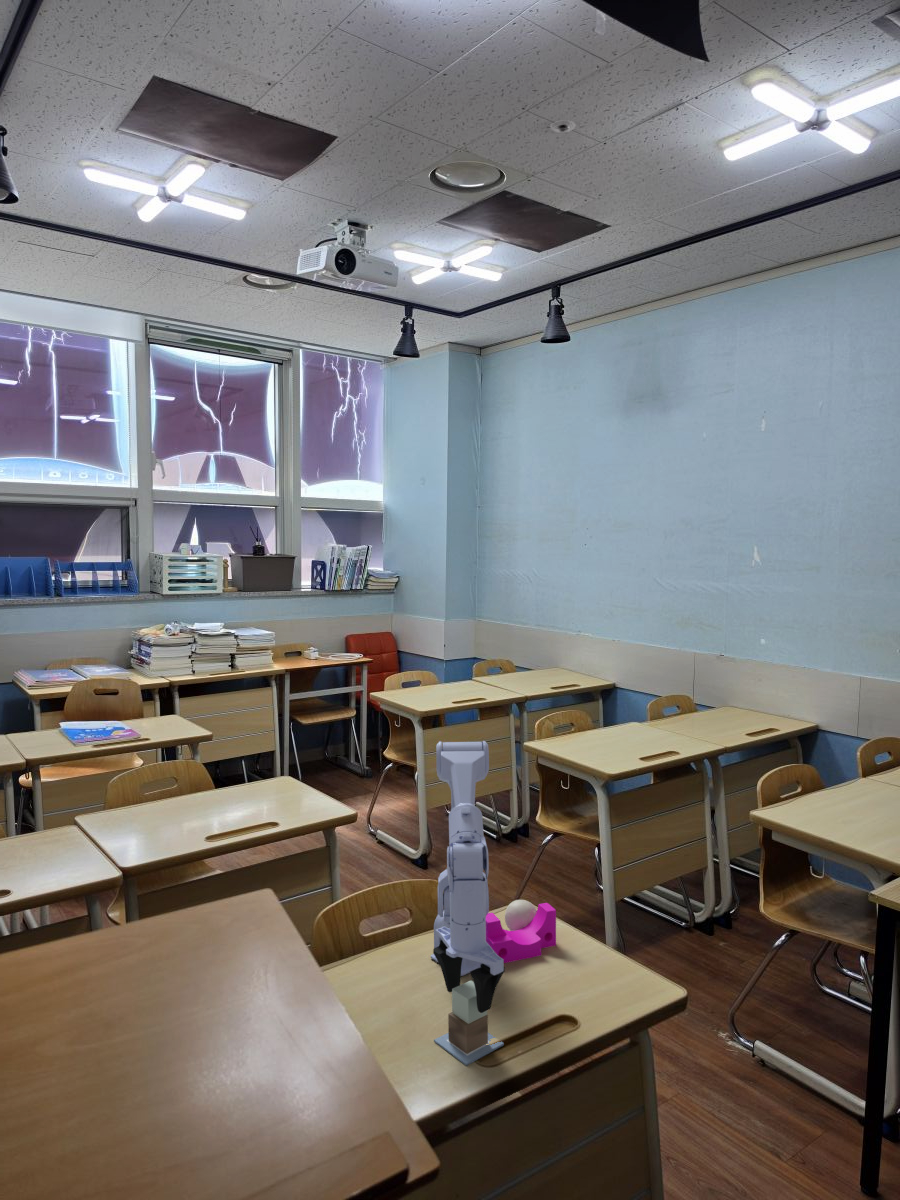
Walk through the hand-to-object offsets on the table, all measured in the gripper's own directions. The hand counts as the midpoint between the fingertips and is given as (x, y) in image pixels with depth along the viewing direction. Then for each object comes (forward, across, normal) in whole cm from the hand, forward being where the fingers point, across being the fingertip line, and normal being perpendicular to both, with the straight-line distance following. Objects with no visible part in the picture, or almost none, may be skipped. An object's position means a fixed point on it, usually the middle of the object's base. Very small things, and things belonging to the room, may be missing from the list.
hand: (468, 999), depth 127 cm
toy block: (+8, -16, +28) cm, 33 cm away
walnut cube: (+7, 0, 0) cm, 7 cm away
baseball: (+8, -21, +33) cm, 40 cm away
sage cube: (+2, 0, 0) cm, 2 cm away
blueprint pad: (+7, 0, 0) cm, 7 cm away
